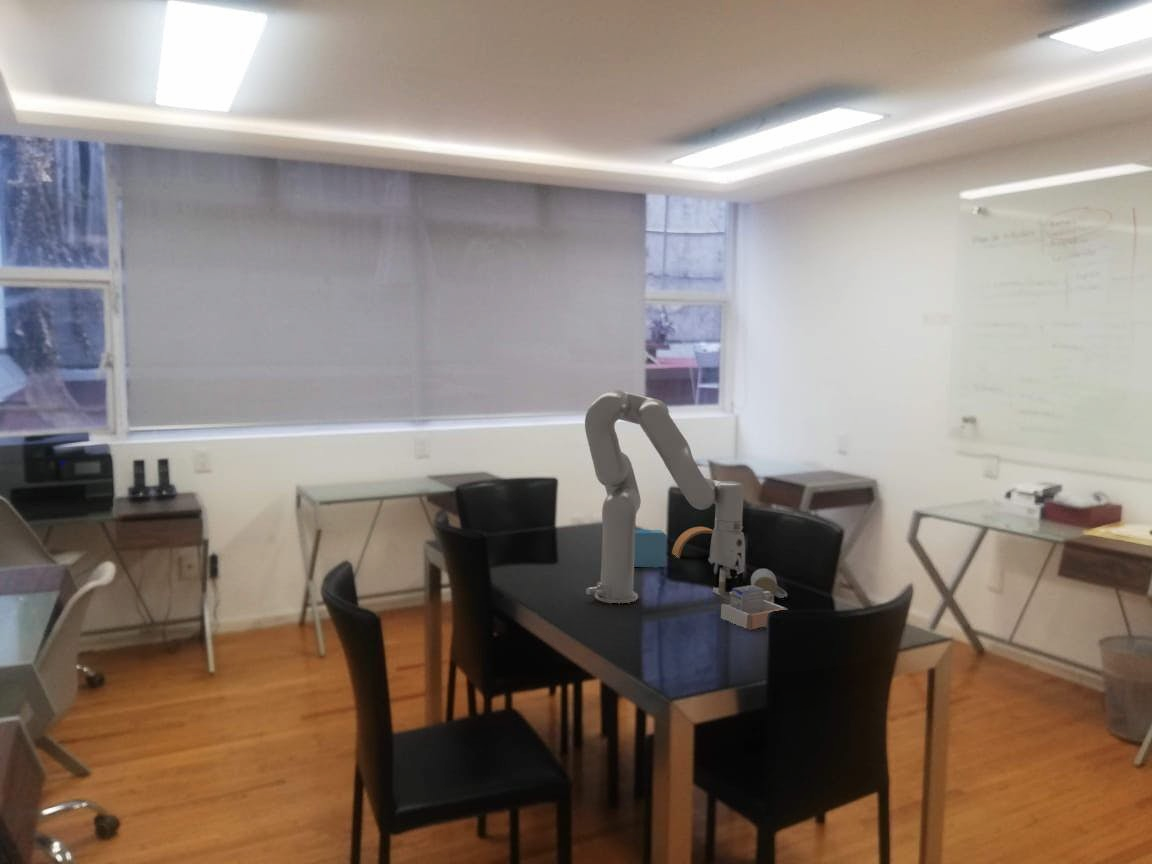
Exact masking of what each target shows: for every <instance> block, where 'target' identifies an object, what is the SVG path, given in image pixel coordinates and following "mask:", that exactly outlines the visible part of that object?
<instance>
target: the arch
mask: <svg viewBox="0 0 1152 864" xmlns="http://www.w3.org/2000/svg"><path fill="white" fill-rule="evenodd" d="M713 530H714V529H711V528H709V527H705V526H696V527H695V526H694V527H691V528H688V529H687V530H685V531H684V532H683V533H681V534H680V535H679V536H678V537H677V539H676V540H675V542H674V545H673V547H672V551H671V555H672V554H673V555H675V556H676V557H677V558H678V559H681V554H682V551H683V549H684V546H685V545H686V543H687V542H688V541H690V539H692V538H693V537H694V536H697V535H701V534H713ZM673 555H672V556H673ZM675 556H674V557H675ZM676 557H675V558H676ZM677 558H676V559H677Z"/></svg>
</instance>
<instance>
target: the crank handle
mask: <svg viewBox="0 0 1152 864" xmlns="http://www.w3.org/2000/svg"><path fill="white" fill-rule="evenodd" d="M726 578H728V577H727V567H725V566H724V567H722V568H720V575H719V594H720V595H719V596H720V597H721V598H724V599H726V600H729V601H731V597H732V595H731V594H730V592H725V579H726ZM763 600H766V601H769V602H771V603H774V602H775V596H774V595H773V594H771V592H769V591H764V592H763ZM774 604H775V603H774ZM727 605H728V606H731V603H730V604H727Z"/></svg>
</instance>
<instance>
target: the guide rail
mask: <svg viewBox="0 0 1152 864" xmlns="http://www.w3.org/2000/svg"><path fill="white" fill-rule="evenodd" d="M713 592H714V593H713ZM712 593H713V594H715V593H716V595H719V596H720V594H719V588H715V586H714V587H713V588H712ZM730 594H731V595H732V591H731V592H730Z"/></svg>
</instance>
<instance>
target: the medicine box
mask: <svg viewBox="0 0 1152 864" xmlns="http://www.w3.org/2000/svg"><path fill="white" fill-rule="evenodd" d="M731 592H732V597H731V600H730V604H731V607H733V608H736V609H738V610H741V611H743V612H746V613H748V614H755V613H760V612H762V606H763V592H764V589H762V588H760V587H757V586H754V585H751V584H750V585H749V584H748V585H744V586H738V587H735V588H733V589H732V591H731Z"/></svg>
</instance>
